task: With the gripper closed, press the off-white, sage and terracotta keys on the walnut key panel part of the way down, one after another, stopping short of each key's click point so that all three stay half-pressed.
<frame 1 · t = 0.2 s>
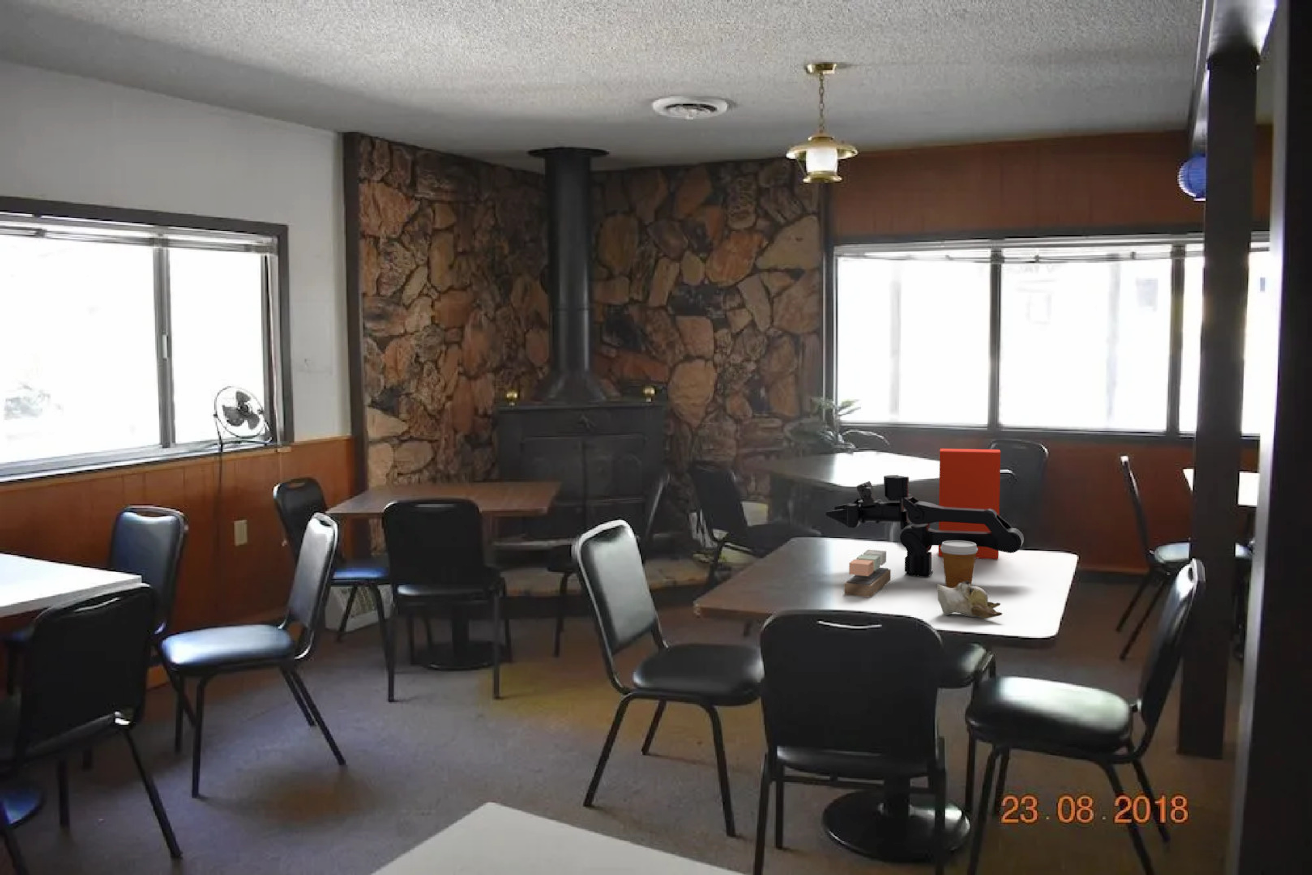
hand: (830, 510, 309), 16 cm above the table, fingers open, 9 cm apart
key panel: (868, 587, 285), on the table
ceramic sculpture: (968, 616, 255), on the table
key sage: (868, 562, 284), point 7 cm above the table, slide at 0.0 cm
key white: (874, 557, 291), point 7 cm above the table, slide at 0.0 cm
disposable coffee cup: (958, 589, 283), on the table
key terracotta: (861, 567, 278), point 7 cm above the table, slide at 0.0 cm
file binder: (968, 556, 325), on the table
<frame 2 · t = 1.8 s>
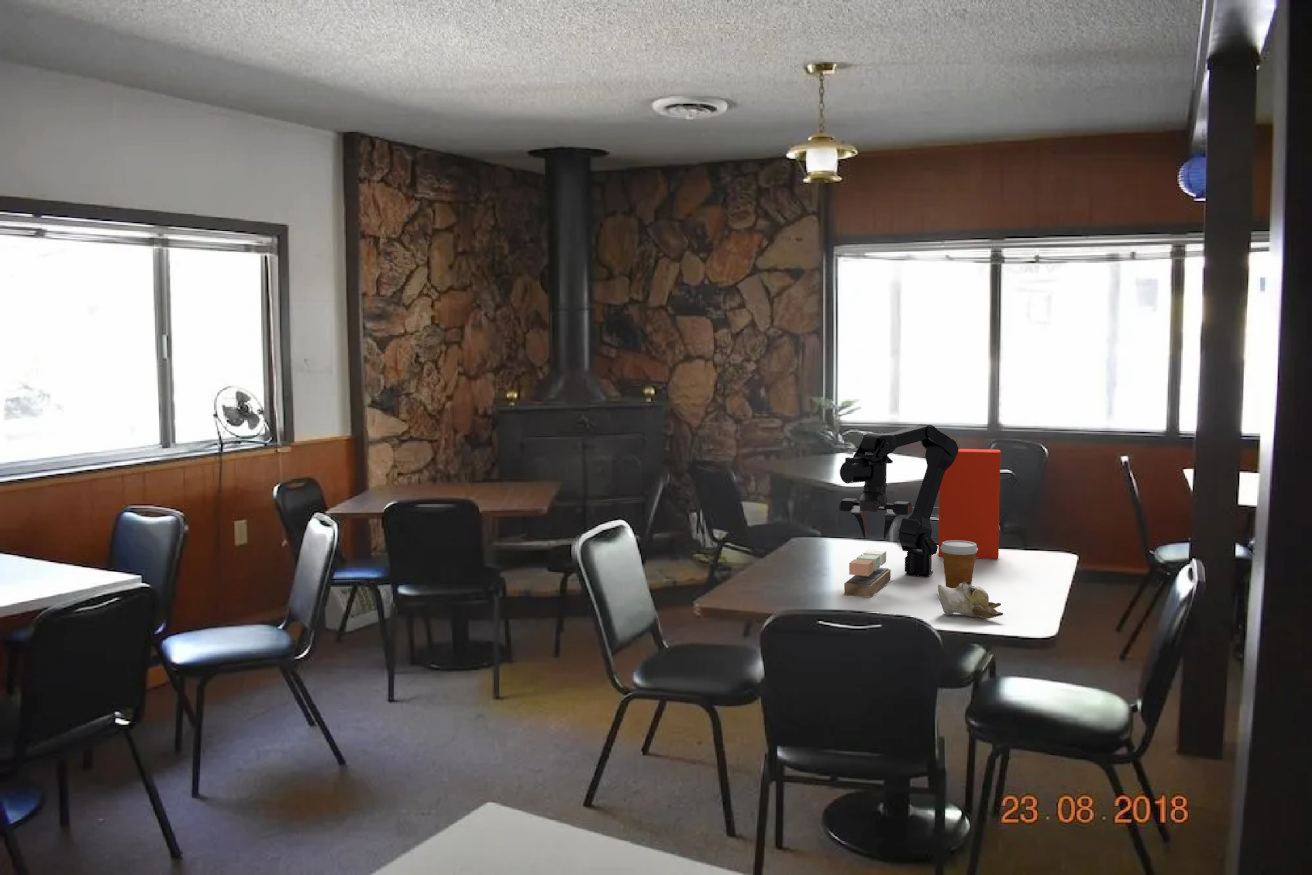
hand: (874, 538, 290), 12 cm above the table, fingers open, 5 cm apart
nothing on the table moved.
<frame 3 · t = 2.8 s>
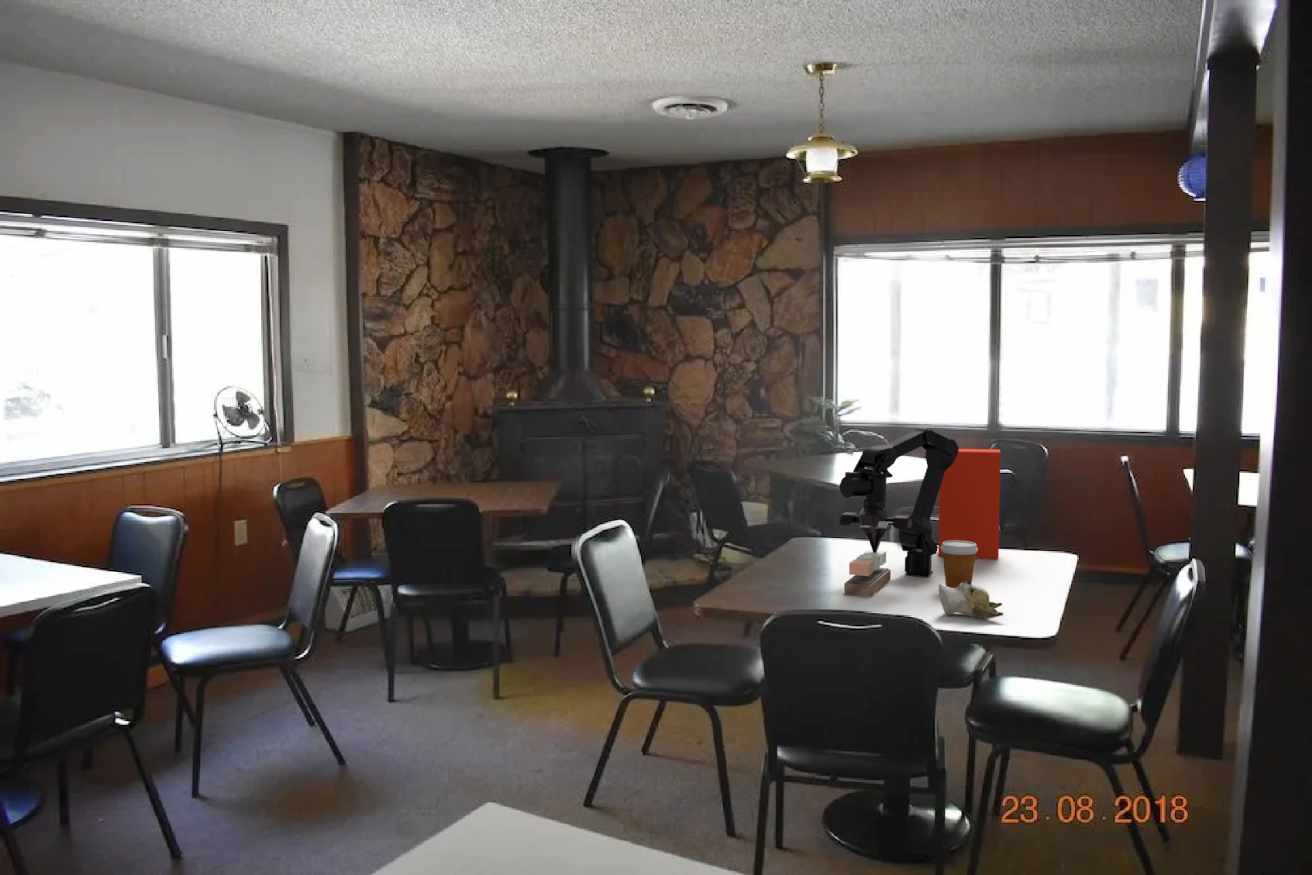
hand: (875, 552, 291), 8 cm above the table, fingers closed, pressing on key white
key white: (874, 557, 291), point 7 cm above the table, slide at 0.0 cm, touching gripper
everything else where it was.
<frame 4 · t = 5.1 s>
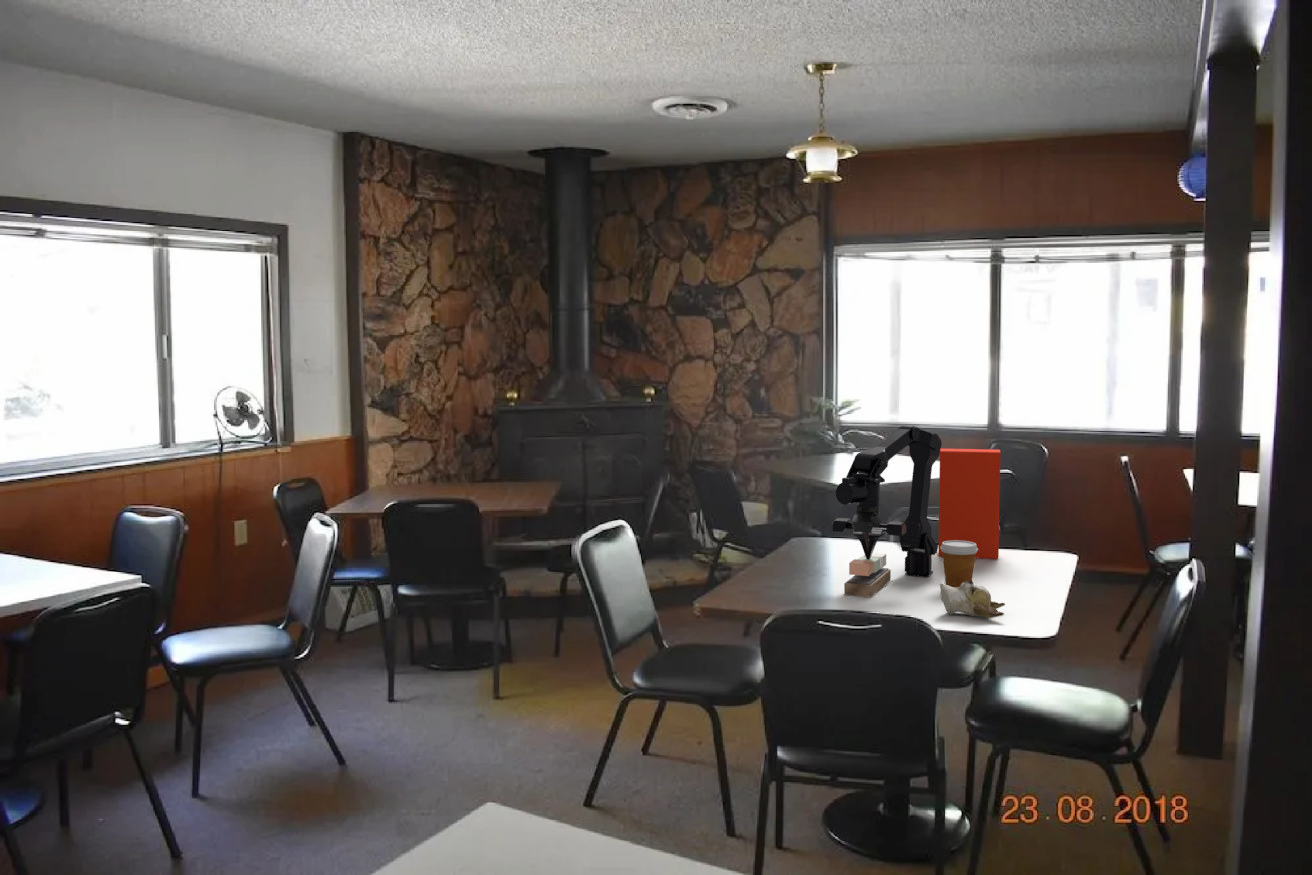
hand: (868, 558, 284), 8 cm above the table, fingers closed, pressing on key sage
key sage: (868, 564, 285), point 6 cm above the table, slide at 0.6 cm, touching gripper
key white: (874, 560, 291), point 6 cm above the table, slide at 0.8 cm
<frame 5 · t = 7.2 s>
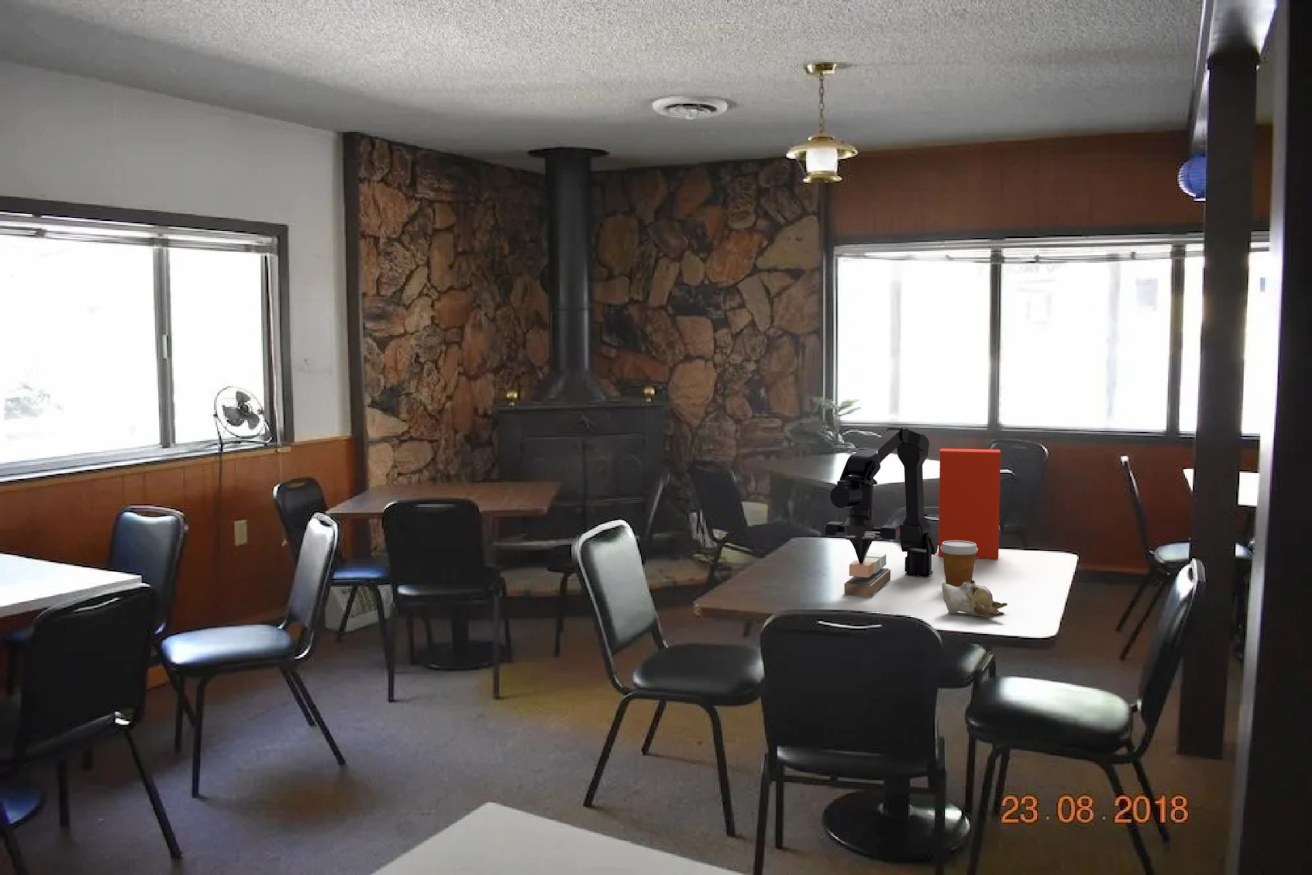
hand: (861, 563, 278), 8 cm above the table, fingers closed, pressing on key terracotta
key sage: (868, 565, 285), point 6 cm above the table, slide at 0.8 cm
key terracotta: (861, 568, 278), point 6 cm above the table, slide at 0.4 cm, touching gripper
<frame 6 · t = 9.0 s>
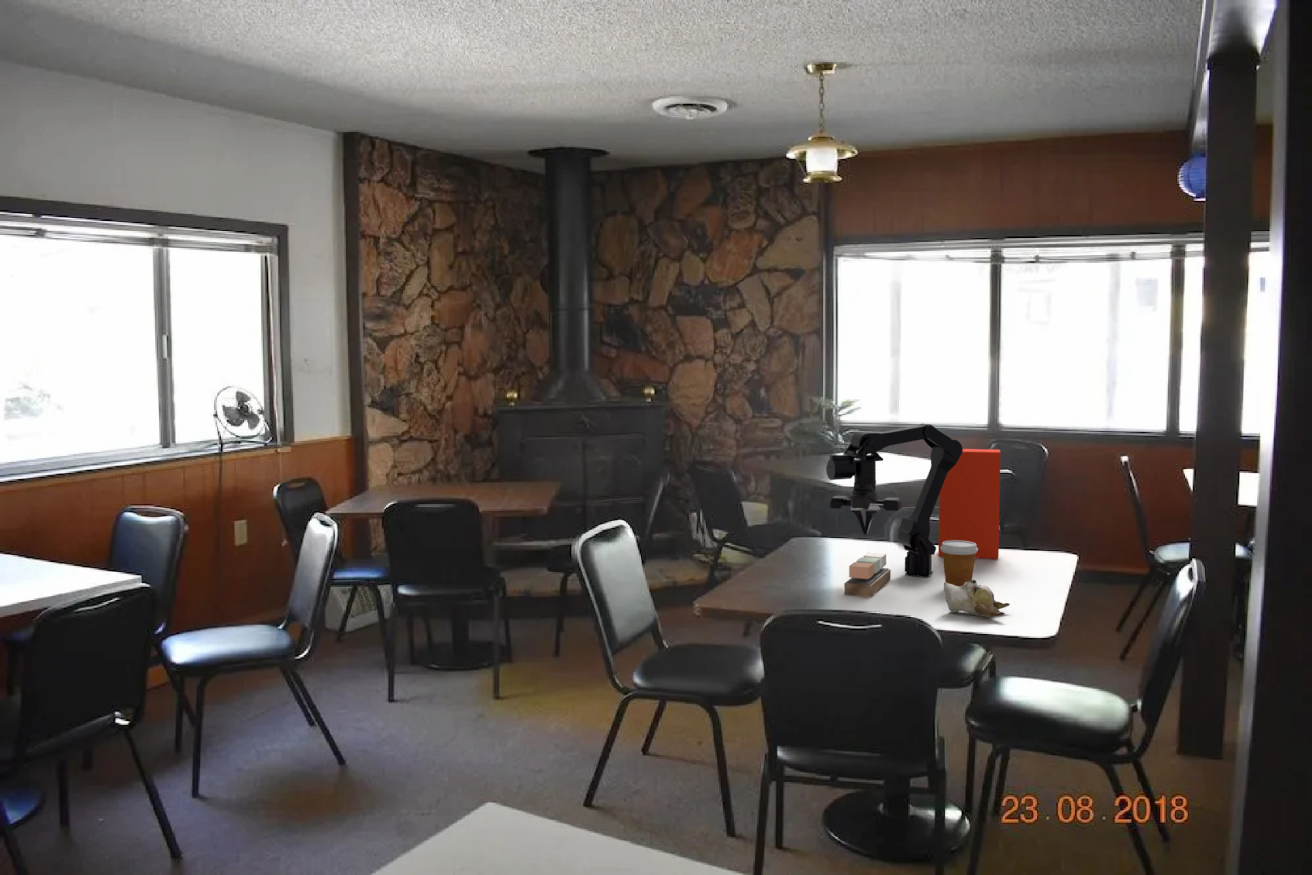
hand: (865, 534, 295), 12 cm above the table, fingers closed
key terracotta: (861, 570, 278), point 6 cm above the table, slide at 0.8 cm
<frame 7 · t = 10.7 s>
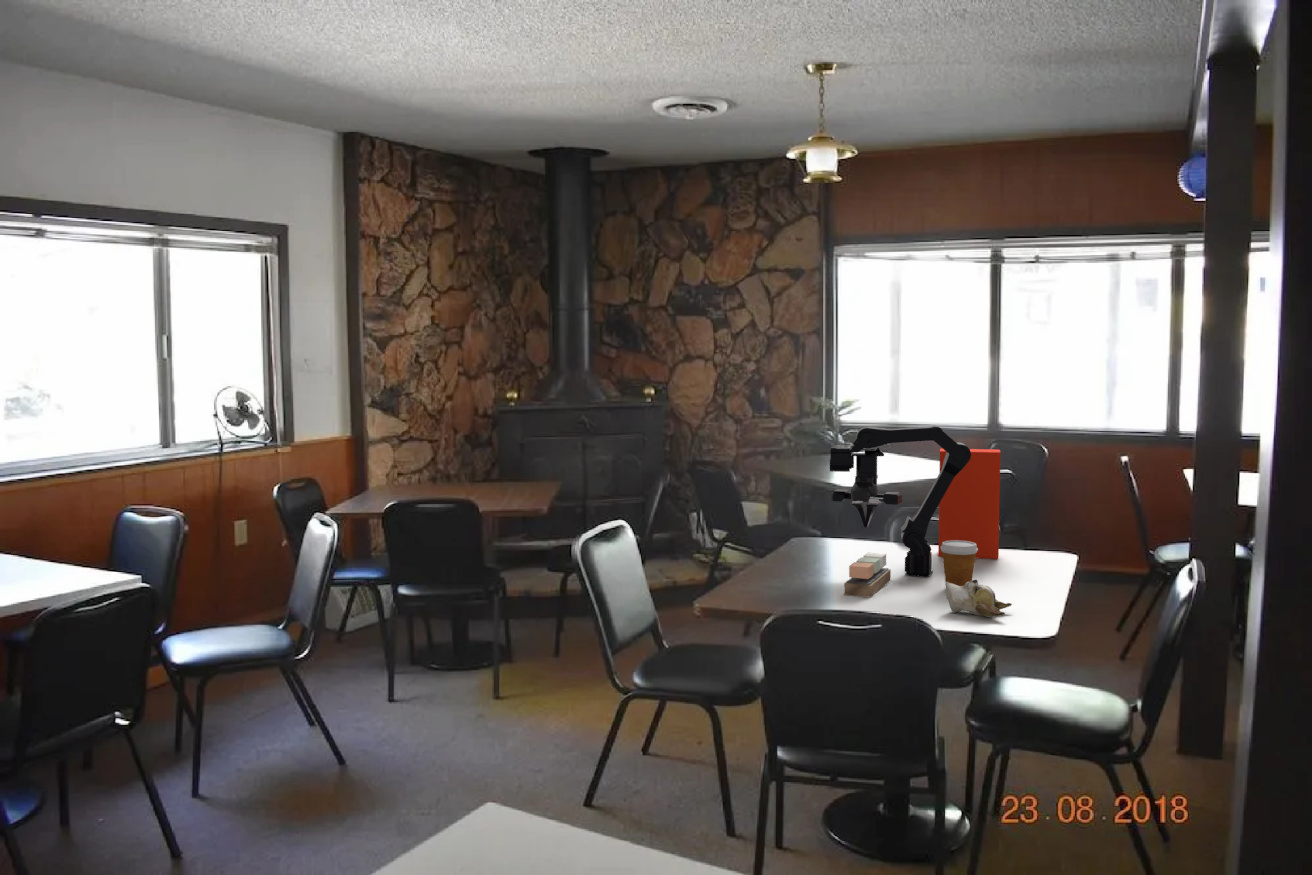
hand: (866, 527, 301), 13 cm above the table, fingers closed
at the end: key white slide at 0.8 cm; key sage slide at 0.8 cm; key terracotta slide at 0.8 cm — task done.
